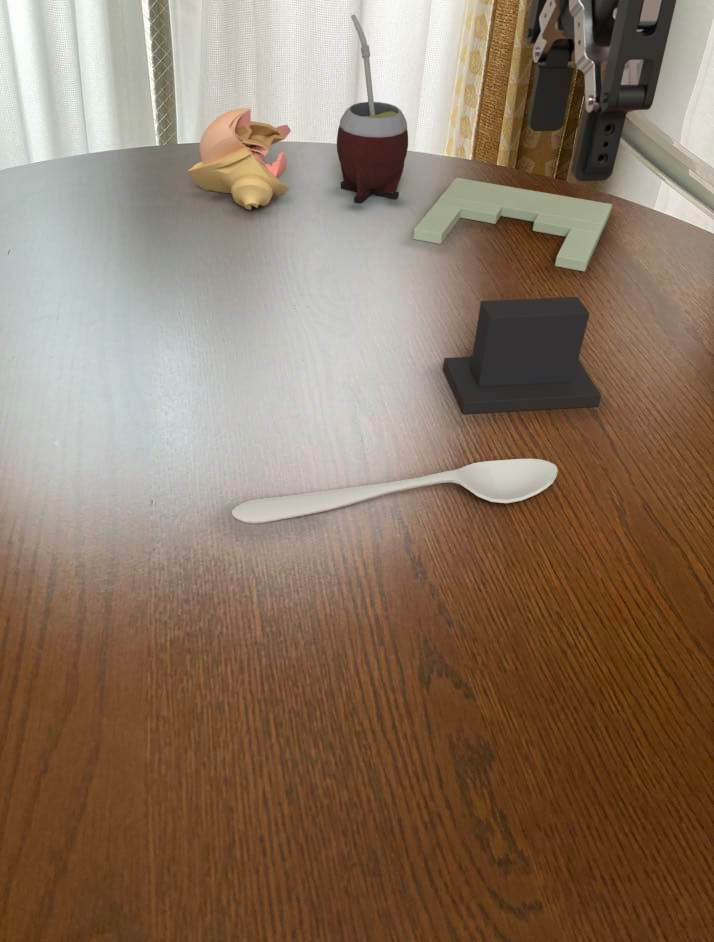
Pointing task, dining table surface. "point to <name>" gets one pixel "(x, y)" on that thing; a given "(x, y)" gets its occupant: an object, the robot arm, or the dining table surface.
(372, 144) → the mate gourd
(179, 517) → the dining table surface
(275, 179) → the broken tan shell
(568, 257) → the sage stepped arch block
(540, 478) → the spoon
